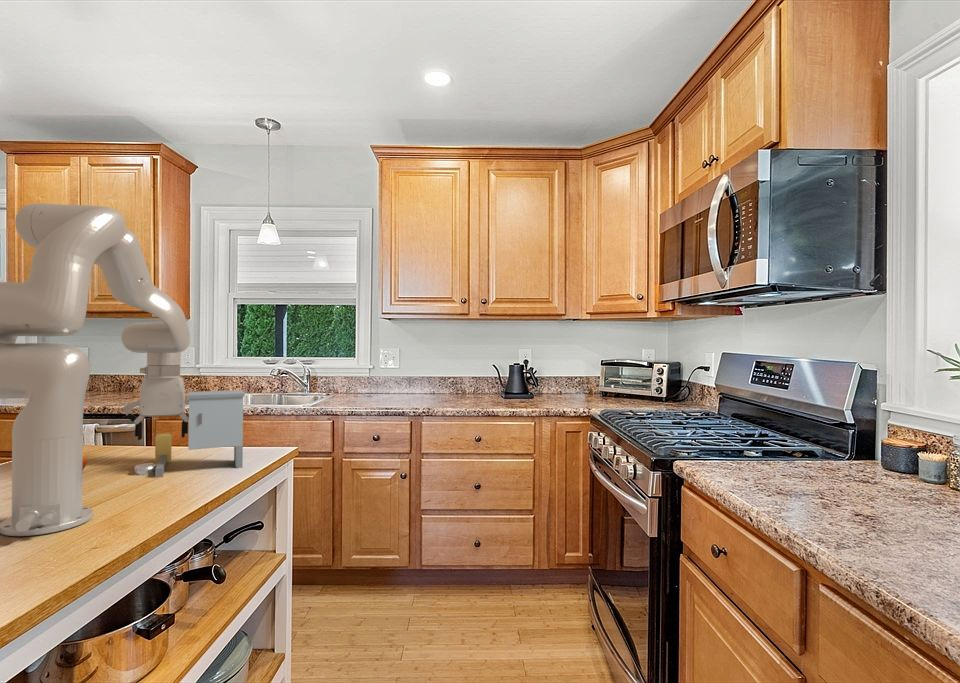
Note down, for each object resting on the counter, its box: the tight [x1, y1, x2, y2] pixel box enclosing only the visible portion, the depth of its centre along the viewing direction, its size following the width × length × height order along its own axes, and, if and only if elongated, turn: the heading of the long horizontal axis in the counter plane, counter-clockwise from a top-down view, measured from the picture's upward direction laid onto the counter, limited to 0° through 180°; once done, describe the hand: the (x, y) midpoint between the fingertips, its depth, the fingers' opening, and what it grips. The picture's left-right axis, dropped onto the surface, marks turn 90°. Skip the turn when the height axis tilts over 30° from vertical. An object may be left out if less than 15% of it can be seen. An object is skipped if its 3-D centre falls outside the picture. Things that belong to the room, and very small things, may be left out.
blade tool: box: [154, 432, 173, 478], centre depth 130 cm, size 19×4×7 cm, turn 29°
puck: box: [134, 462, 157, 476], centre depth 125 cm, size 4×4×2 cm
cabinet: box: [187, 389, 246, 469], centre depth 132 cm, size 9×13×19 cm
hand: (162, 437), depth 135 cm, fingers open, 9 cm apart
